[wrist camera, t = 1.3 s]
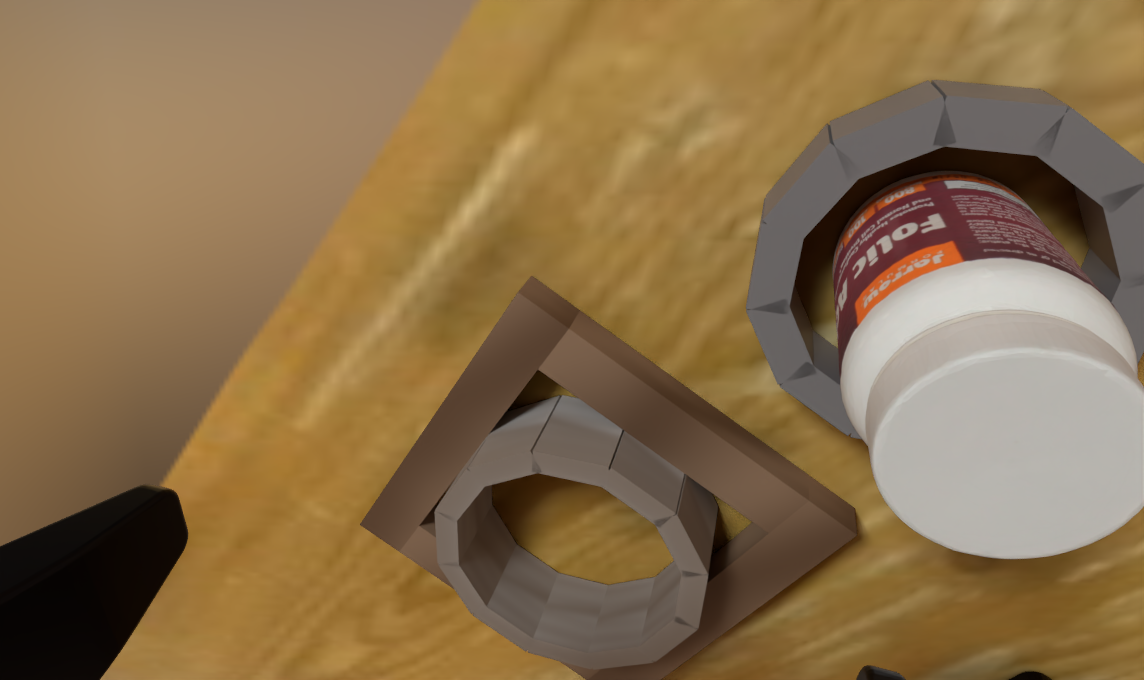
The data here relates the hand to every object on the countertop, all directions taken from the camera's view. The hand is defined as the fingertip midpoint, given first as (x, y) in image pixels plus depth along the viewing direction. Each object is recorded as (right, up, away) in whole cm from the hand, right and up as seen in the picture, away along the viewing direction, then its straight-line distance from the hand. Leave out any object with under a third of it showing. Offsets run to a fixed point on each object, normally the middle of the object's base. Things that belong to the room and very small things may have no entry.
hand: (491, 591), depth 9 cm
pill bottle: (+10, +5, +9) cm, 15 cm away
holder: (+10, +5, +9) cm, 14 cm away
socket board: (+2, -2, +16) cm, 16 cm away
